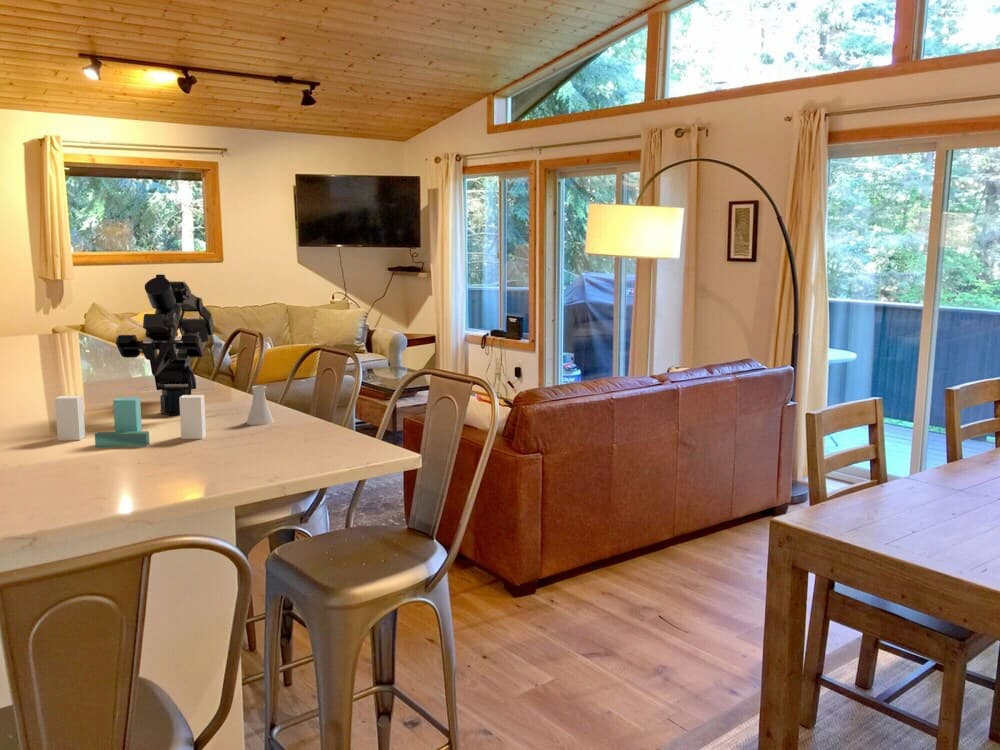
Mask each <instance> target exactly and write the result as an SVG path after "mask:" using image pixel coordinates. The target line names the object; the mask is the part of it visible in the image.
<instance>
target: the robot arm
mask: <svg viewBox="0 0 1000 750" xmlns="http://www.w3.org/2000/svg"><path fill="white" fill-rule="evenodd" d="M144 290H145V293H146V295H147V298H148V300H149V303H150V305H151V308H152V309H155V311H154V313H144V314H143V323H142V329H144V330H145V333H144V334H145V336H146V338H142V340H138V337H137V335H136V334H119V335H118V336H116V339H115V345H116V347H117V350H118V351H119V353H120V355H121V357H123V358H129V359H130V358H131V359H132V358H137V357H140V355H141V351H142V353H143V355H144V358H145V359H146V360H147V361H149V364H150V370H151V375H152V376H154V377H153V378H154V382H155V388H156V391H161V395H160V397H159V398H160V401H159V402H160V410H159V412H160V413H162V414H165V415H168V416H180V403H179V397H181V396H182V395H192V390H196V389H197V380H196V375H195V372H194V371H193V367H192V366H191V362H192V360H193V358H202V357H203V356H204V350H205V349H204V348H205V347H204V345H203V344H204V343H207V342H209V340H210V339H211V338H212V336H213V335H214V333H215V327H214V321H213V316H212V313H210V311H209V310H208V309H207V308H206V307H205V306H204V303H203V299H202V298H201V297H199V296H197V295H195V294H193V293H192V291H191V288H190V287H189V286H188V284H187V283H186V282H185V281H171V280H170V281H169V280H168V279H167V278H166V274H156V275H155V277H153V278H151V279H149V280H147V282H146V283H144ZM185 312H187V313H188V312H195V313H196V312H198V314H199V316H201V318H184V315H185ZM178 327H179V331H180V332H179V333H180V335H181V337H180V340H176V338H177V337H178V335H179V333H178ZM158 351H159V352H158Z"/></svg>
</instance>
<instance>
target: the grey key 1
mask: <svg viewBox="0 0 1000 750" xmlns="http://www.w3.org/2000/svg"><path fill="white" fill-rule="evenodd" d="M83 397H84V395H60V396H57V397H55V398H54V407H55V418H56V433H57V434H56V436H57V441H62V442H63V441H81V440H83V439H84V438H86V429H85V428H86V427H85V413H84V398H83Z"/></svg>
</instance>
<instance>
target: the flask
mask: <svg viewBox="0 0 1000 750" xmlns="http://www.w3.org/2000/svg"><path fill="white" fill-rule="evenodd" d="M266 388H267V386H266V385H253V386H251V389H252V391H253V394H252V395H253V396H252V397H253V398H252V404H251V407H250V411H249V413H248V417H247V419H246V424H247V425H250V426H265V425H266V426H267V425H271V424H274V421H275V420H274V418H273V416H272V415H273V414H272V412H271V411H270V408H269V405H268V403H267V399H266Z"/></svg>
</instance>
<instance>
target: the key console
mask: <svg viewBox="0 0 1000 750" xmlns="http://www.w3.org/2000/svg"><path fill="white" fill-rule="evenodd" d="M94 442H95V443H94V446H95V448H131V447H133V448H134V447H141V448H142V447H145V448H146V447H148V446H150V431H147V430H146V431H143V430H142V431H126V432H115V431H97V432H96V433H94Z"/></svg>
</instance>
